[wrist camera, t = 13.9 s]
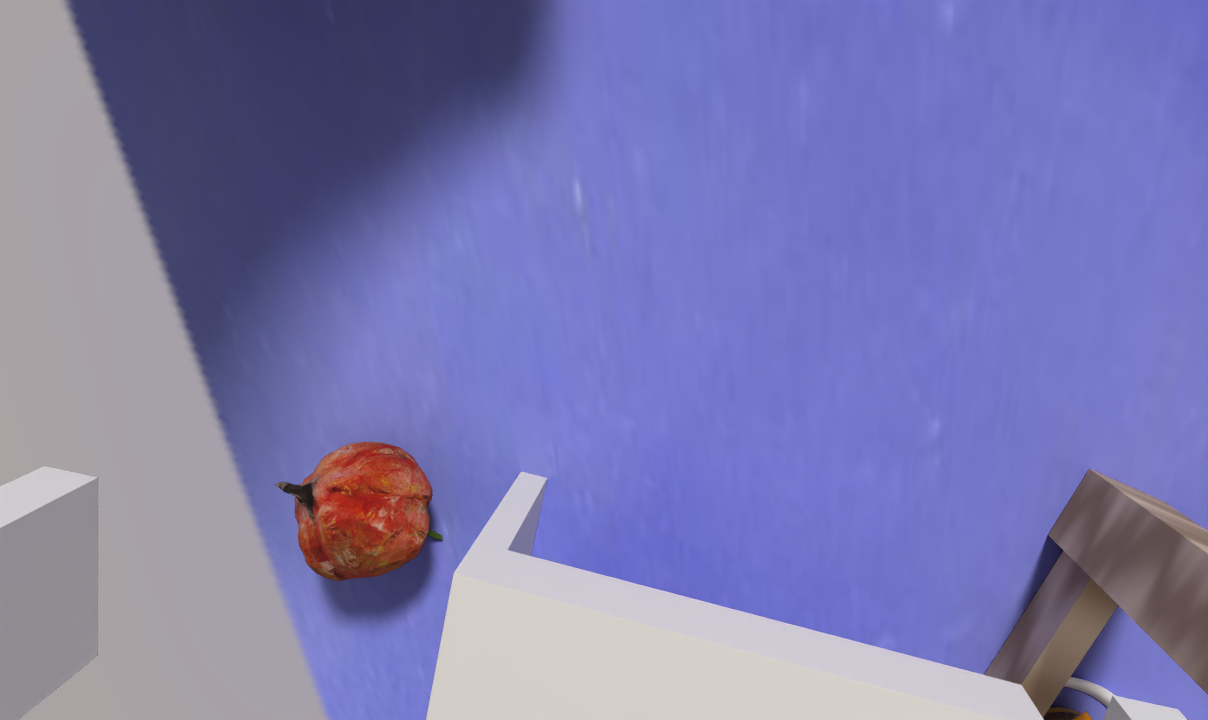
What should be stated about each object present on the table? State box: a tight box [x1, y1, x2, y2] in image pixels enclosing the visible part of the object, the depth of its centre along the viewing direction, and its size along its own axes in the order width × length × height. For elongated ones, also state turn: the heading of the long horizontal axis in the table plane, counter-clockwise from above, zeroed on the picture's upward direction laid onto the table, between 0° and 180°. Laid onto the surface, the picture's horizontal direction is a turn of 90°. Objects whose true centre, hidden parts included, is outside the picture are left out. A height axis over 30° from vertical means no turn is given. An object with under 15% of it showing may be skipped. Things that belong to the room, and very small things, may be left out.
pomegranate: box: [275, 442, 442, 581], centre depth 42 cm, size 7×7×10 cm
